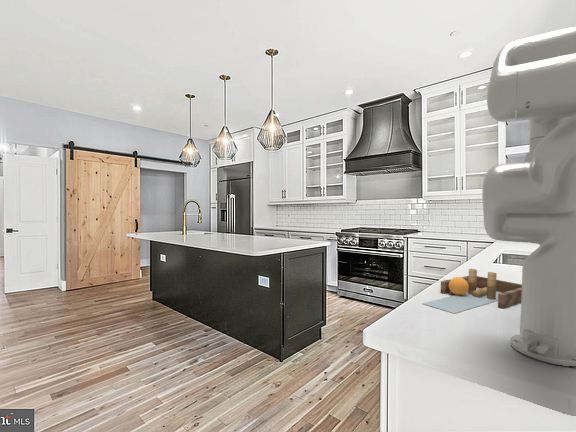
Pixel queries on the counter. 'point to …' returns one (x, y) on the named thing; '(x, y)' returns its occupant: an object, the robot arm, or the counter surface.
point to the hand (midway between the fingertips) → (545, 217)
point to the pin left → (472, 280)
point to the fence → (508, 289)
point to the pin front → (480, 292)
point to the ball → (458, 286)
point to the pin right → (491, 285)
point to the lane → (460, 302)
